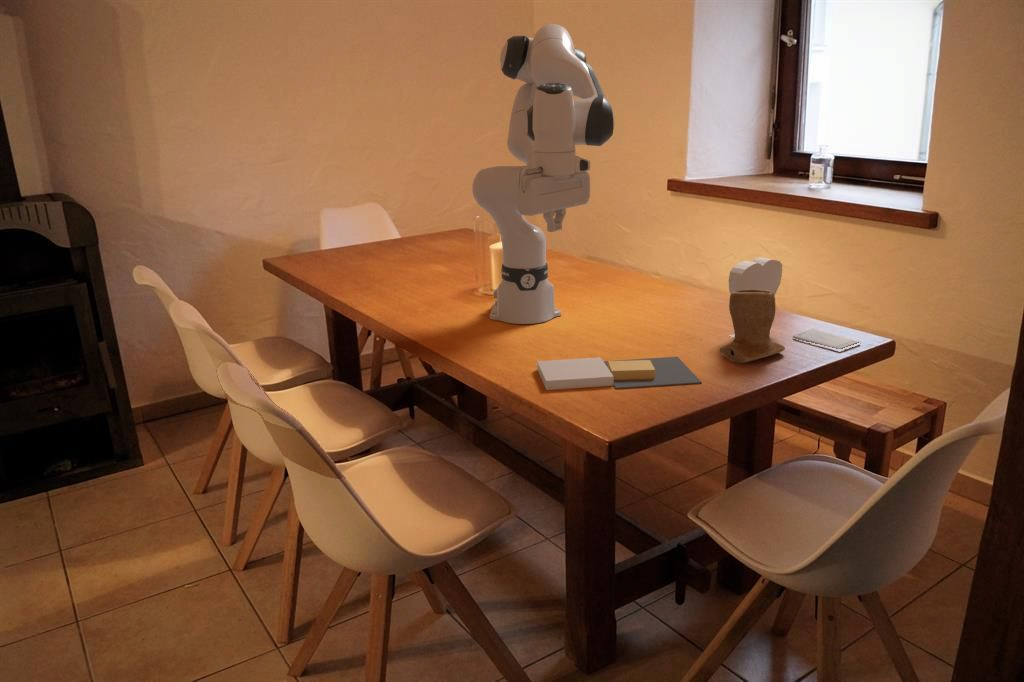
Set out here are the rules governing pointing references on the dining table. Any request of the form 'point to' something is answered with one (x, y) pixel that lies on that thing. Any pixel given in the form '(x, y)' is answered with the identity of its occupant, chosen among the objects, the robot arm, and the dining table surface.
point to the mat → (661, 374)
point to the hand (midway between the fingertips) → (554, 230)
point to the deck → (574, 373)
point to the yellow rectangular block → (632, 369)
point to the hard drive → (825, 339)
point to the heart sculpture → (756, 275)
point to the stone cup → (751, 326)
